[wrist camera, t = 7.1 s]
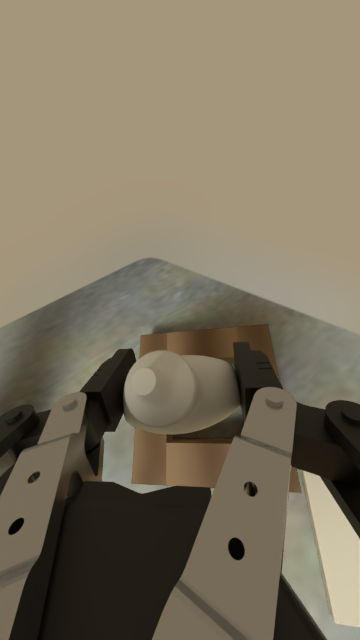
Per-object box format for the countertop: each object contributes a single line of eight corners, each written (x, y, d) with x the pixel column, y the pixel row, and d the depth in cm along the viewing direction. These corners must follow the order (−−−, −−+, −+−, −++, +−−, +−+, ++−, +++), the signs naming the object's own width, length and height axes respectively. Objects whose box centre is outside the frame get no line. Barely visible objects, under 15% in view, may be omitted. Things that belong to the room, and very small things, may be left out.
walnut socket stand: (143, 473, 21) (131, 483, 18) (149, 342, 27) (140, 335, 24) (290, 480, 18) (301, 492, 16) (263, 333, 24) (267, 324, 21)
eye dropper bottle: (174, 360, 18) (97, 287, 7) (239, 383, 16) (275, 335, 5) (154, 412, 16) (20, 423, 6) (223, 443, 15) (225, 549, 4)
